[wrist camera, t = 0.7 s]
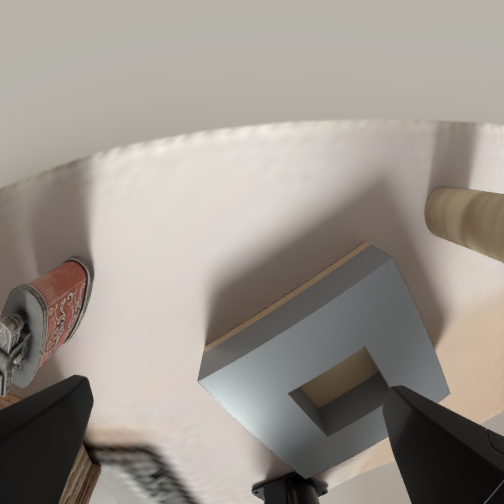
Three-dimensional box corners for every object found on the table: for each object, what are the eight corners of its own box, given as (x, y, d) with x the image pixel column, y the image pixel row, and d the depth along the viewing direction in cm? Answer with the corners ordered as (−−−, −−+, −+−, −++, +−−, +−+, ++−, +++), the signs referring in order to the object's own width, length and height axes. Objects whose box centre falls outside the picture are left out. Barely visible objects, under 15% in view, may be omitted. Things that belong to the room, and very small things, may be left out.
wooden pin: (468, 220, 21) (558, 247, 12) (436, 247, 22) (524, 288, 12) (451, 177, 21) (546, 187, 11) (416, 203, 21) (511, 226, 11)
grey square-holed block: (427, 366, 24) (450, 393, 20) (298, 444, 26) (305, 479, 22) (365, 241, 22) (392, 257, 17) (204, 346, 23) (197, 381, 19)
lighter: (67, 246, 21) (-20, 291, 11) (102, 270, 21) (25, 329, 12) (42, 325, 22) (-25, 387, 13) (73, 347, 23) (13, 419, 13)
